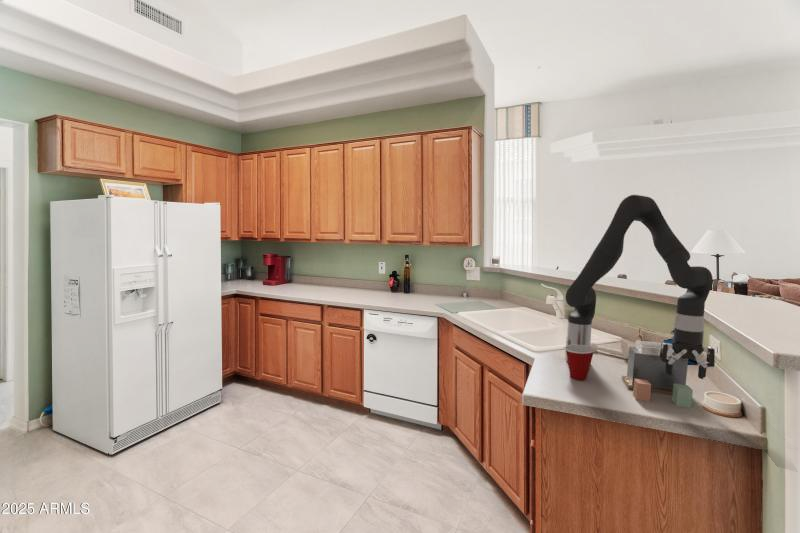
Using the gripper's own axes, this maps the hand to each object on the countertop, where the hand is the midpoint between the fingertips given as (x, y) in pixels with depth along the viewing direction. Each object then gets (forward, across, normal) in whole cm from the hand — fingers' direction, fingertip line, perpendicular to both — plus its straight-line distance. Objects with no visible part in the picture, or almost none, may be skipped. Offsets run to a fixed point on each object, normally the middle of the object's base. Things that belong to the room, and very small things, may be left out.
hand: (684, 376), depth 122 cm
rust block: (+10, -12, 0) cm, 15 cm away
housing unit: (+9, -5, +12) cm, 16 cm away
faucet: (+10, -13, +47) cm, 50 cm away
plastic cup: (+9, -30, +12) cm, 34 cm away
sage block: (+10, 0, 0) cm, 10 cm away
